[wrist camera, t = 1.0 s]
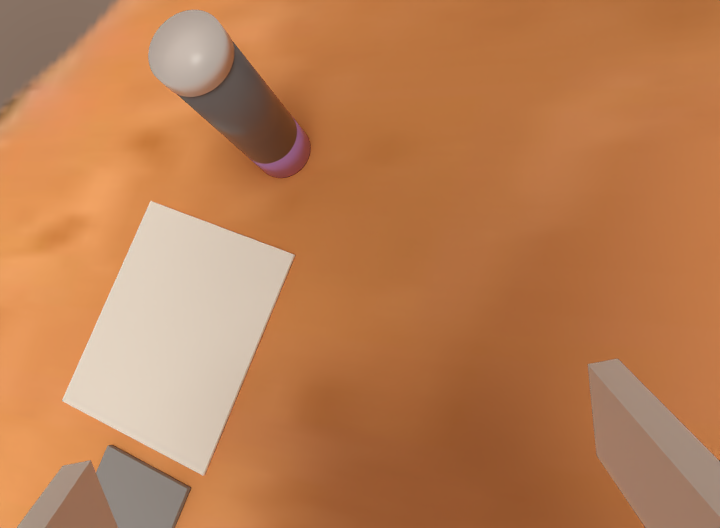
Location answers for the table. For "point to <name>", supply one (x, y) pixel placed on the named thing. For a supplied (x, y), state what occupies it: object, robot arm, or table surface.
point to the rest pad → (139, 492)
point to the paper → (178, 334)
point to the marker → (227, 91)
